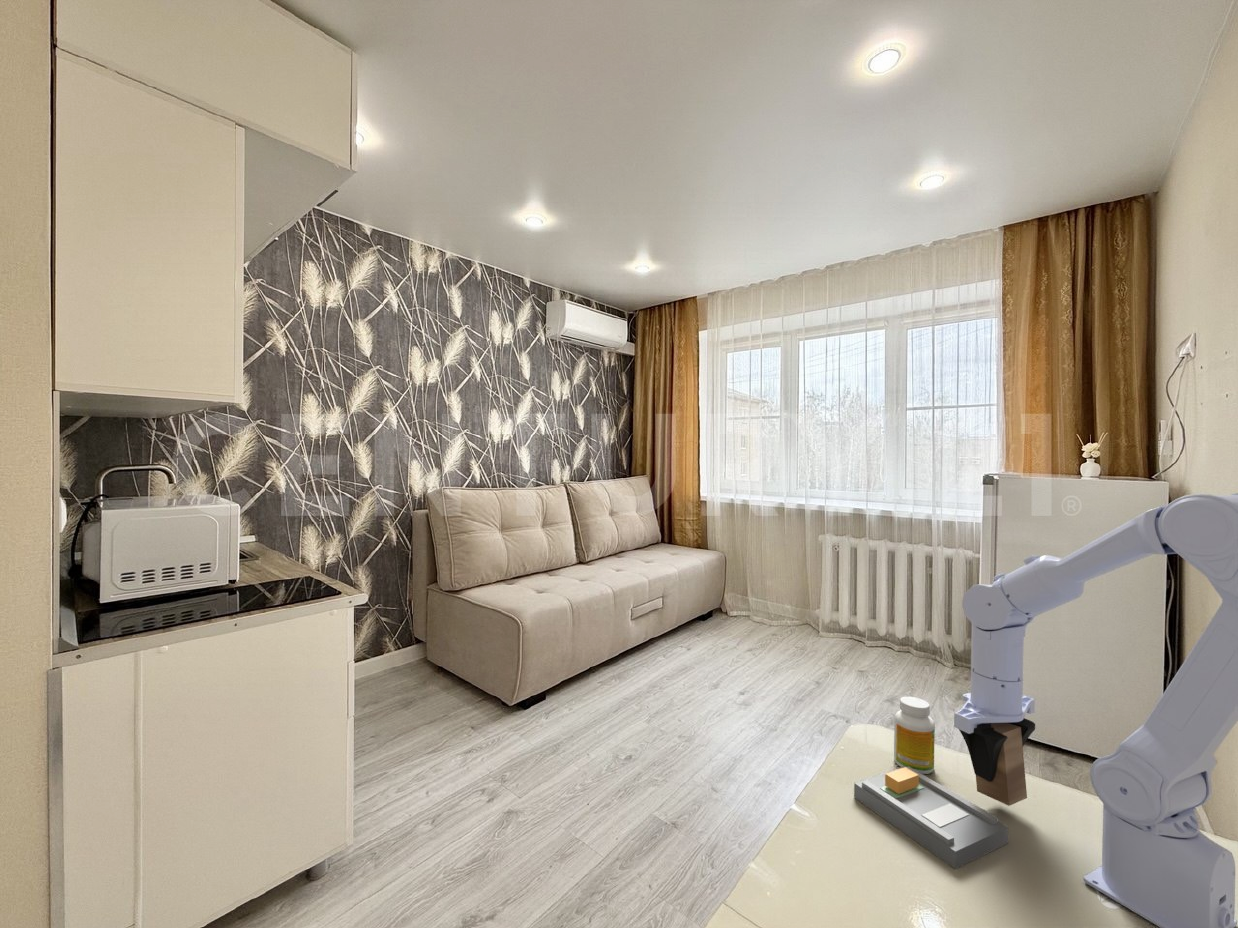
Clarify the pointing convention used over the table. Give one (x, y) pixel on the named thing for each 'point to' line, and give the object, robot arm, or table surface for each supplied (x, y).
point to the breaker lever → (901, 780)
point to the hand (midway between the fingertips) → (994, 773)
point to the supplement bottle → (914, 735)
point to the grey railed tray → (935, 818)
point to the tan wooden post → (1007, 768)
